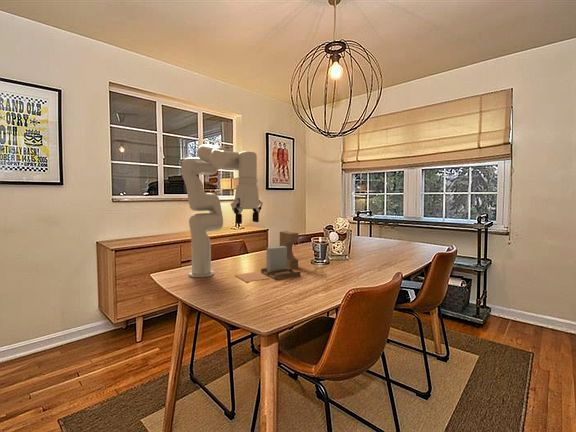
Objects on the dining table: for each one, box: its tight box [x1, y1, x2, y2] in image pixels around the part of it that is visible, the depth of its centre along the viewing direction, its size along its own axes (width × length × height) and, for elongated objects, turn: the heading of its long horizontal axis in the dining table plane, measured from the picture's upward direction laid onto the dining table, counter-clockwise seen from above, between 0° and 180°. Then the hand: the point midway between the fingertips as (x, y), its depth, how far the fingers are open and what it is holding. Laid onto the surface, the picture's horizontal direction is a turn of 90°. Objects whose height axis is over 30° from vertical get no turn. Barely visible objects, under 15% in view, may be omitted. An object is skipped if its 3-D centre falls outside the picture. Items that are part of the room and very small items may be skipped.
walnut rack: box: [260, 267, 301, 281], centre depth 165 cm, size 15×15×2 cm
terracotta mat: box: [234, 271, 270, 284], centre depth 160 cm, size 14×12×1 cm
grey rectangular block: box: [266, 245, 287, 272], centre depth 168 cm, size 4×10×14 cm, turn 122°
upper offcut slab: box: [273, 271, 292, 276], centre depth 162 cm, size 5×9×1 cm, turn 124°
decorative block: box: [279, 230, 299, 270], centre depth 182 cm, size 11×6×20 cm, turn 38°
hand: (247, 222), depth 134 cm, fingers open, 9 cm apart
